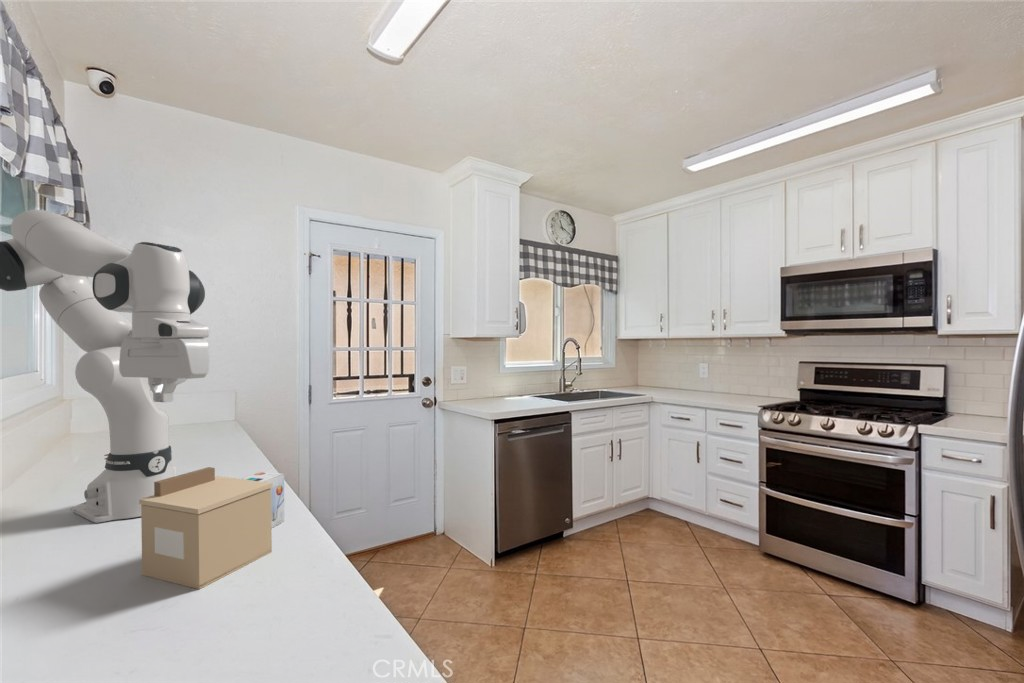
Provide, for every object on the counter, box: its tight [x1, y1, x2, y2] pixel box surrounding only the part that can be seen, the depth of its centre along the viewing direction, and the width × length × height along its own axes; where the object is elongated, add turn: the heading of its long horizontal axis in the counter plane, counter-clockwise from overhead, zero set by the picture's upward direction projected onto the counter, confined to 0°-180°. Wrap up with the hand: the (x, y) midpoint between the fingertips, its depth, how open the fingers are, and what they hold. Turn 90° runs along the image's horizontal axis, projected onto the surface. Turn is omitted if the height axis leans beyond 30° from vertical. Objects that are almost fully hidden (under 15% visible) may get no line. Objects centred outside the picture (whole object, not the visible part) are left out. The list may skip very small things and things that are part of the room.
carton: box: [140, 488, 273, 590], centre depth 84 cm, size 14×14×12 cm
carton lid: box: [139, 466, 273, 514], centre depth 84 cm, size 14×14×3 cm
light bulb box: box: [241, 471, 285, 529], centre depth 99 cm, size 11×7×11 cm, turn 168°
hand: (163, 401), depth 88 cm, fingers closed
